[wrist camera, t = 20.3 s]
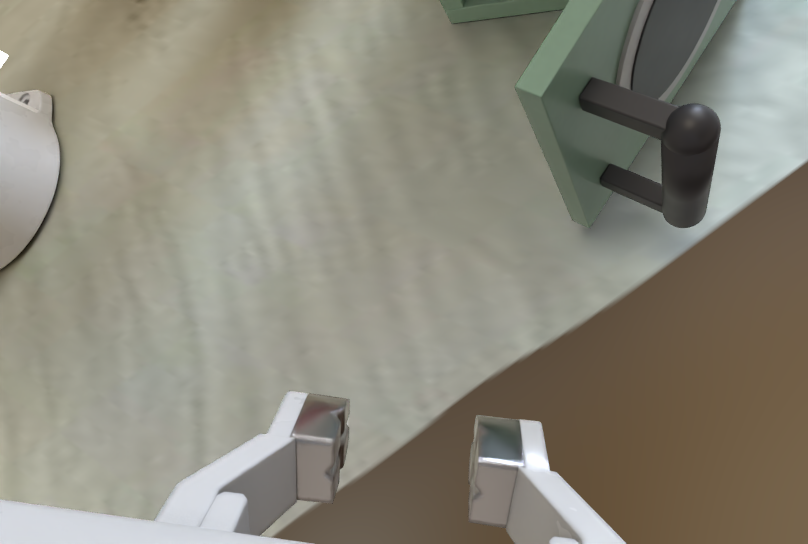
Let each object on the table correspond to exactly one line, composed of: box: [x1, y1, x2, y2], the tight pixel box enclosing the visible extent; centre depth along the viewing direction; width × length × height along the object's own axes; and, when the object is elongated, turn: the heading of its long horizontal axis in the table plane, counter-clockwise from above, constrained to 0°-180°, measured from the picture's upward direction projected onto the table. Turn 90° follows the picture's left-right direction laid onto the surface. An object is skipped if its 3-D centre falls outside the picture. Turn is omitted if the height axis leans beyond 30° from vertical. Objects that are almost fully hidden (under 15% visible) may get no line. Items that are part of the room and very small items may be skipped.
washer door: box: [515, 0, 736, 228], centre depth 19 cm, size 5×13×11 cm, turn 144°
